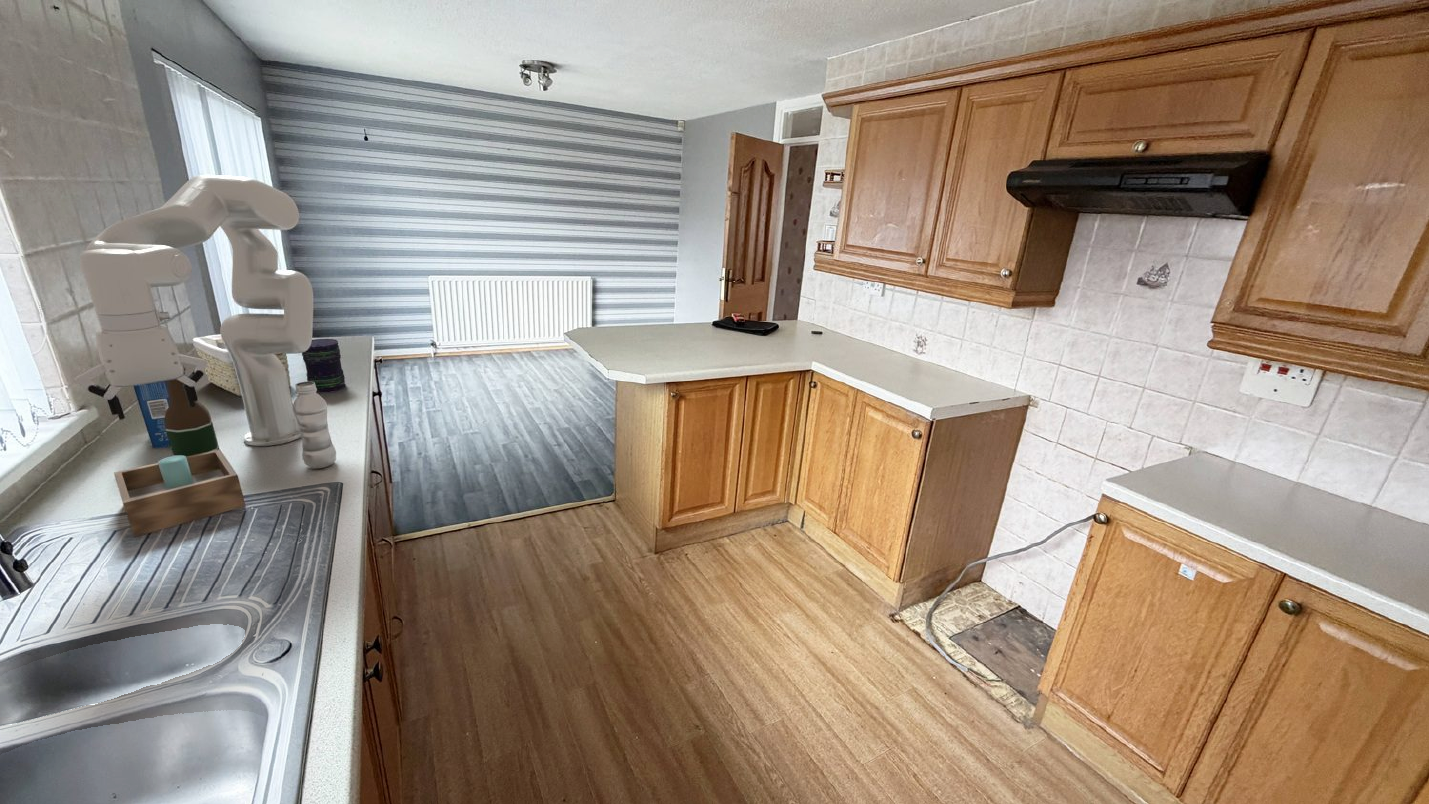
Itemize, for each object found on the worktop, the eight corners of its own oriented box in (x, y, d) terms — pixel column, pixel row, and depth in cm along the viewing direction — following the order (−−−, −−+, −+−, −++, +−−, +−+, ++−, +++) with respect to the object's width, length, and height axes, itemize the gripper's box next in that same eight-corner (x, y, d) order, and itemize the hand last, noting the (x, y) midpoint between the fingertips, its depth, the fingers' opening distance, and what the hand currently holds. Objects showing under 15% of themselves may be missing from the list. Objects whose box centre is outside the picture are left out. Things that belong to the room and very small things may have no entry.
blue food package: (189, 427, 146) (162, 333, 138) (187, 443, 138) (158, 344, 129) (156, 432, 142) (126, 336, 134) (152, 449, 134) (120, 347, 125)
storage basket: (297, 386, 179) (287, 341, 174) (235, 399, 166) (223, 351, 161) (261, 372, 190) (252, 329, 185) (201, 383, 177) (189, 337, 172)
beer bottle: (186, 480, 121) (154, 374, 113) (172, 470, 125) (141, 366, 117) (230, 467, 127) (203, 366, 119) (216, 458, 131) (189, 359, 123)
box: (227, 478, 123) (220, 449, 121) (245, 505, 113) (237, 474, 111) (124, 504, 111) (113, 472, 109) (134, 537, 102) (122, 503, 99)
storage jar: (312, 384, 181) (303, 339, 176) (348, 382, 185) (340, 338, 180) (306, 394, 173) (296, 347, 168) (343, 391, 177) (335, 345, 172)
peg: (197, 497, 115) (184, 453, 112) (201, 505, 113) (187, 460, 109) (170, 504, 112) (156, 459, 109) (174, 512, 110) (159, 466, 106)
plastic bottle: (302, 474, 127) (284, 390, 120) (306, 461, 132) (289, 380, 125) (336, 469, 129) (320, 387, 123) (339, 457, 135) (324, 378, 128)
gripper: (190, 312, 108) (213, 395, 114) (56, 323, 96) (89, 416, 102) (198, 319, 104) (221, 405, 110) (58, 332, 91) (92, 428, 97)
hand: (157, 411), depth 106 cm, fingers open, 9 cm apart
